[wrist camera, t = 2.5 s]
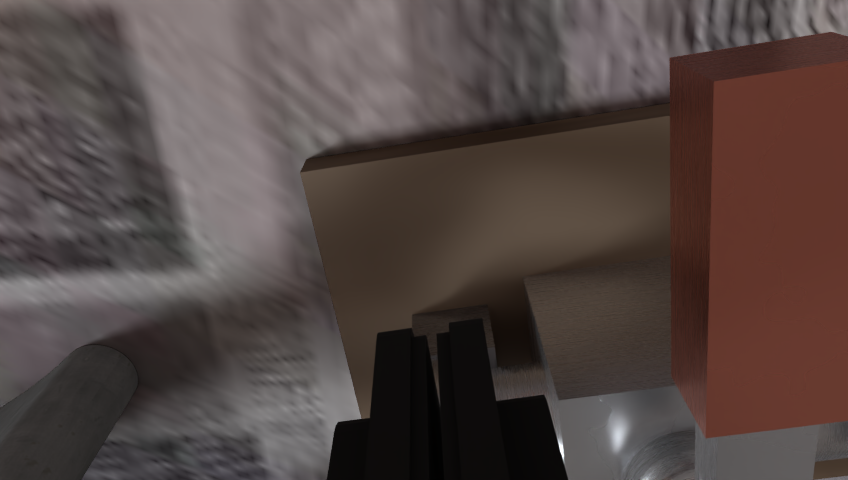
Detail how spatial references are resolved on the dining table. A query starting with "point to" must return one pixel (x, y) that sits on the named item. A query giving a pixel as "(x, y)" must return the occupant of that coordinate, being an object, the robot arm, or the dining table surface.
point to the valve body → (604, 371)
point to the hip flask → (65, 416)
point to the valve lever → (760, 252)
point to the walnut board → (487, 224)
